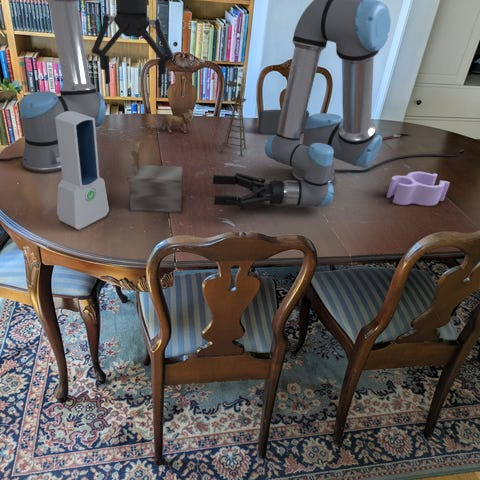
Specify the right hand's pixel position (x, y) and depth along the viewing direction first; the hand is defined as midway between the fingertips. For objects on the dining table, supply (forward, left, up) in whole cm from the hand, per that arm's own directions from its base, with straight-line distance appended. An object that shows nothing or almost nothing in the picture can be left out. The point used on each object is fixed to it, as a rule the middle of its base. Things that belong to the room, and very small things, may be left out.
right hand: (213, 189), depth 141 cm
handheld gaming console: (-59, -51, -6) cm, 78 cm away
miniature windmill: (-28, -39, -6) cm, 48 cm away
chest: (+15, -8, -6) cm, 18 cm away
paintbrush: (-105, -30, -6) cm, 109 cm away
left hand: (+20, -10, +29) cm, 37 cm away
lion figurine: (-15, -65, -6) cm, 67 cm away
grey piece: (+16, -8, +3) cm, 18 cm away
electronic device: (+37, -6, -6) cm, 39 cm away
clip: (-70, +18, -6) cm, 73 cm away
